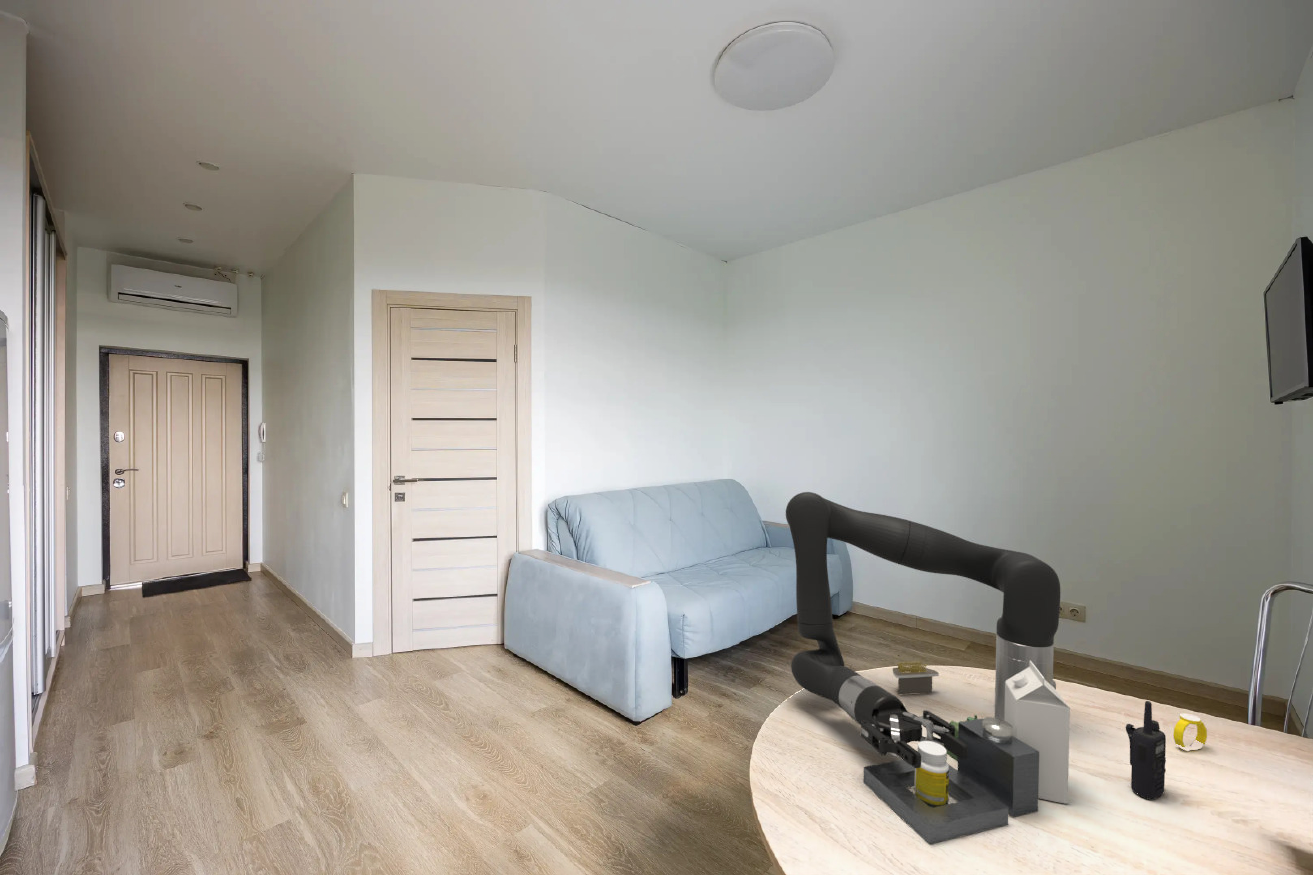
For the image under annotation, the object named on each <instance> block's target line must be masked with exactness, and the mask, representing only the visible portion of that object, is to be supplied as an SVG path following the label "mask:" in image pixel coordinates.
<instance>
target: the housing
mask: <svg viewBox="0 0 1313 875" xmlns="http://www.w3.org/2000/svg"><path fill="white" fill-rule="evenodd" d="M964 721H965V722H960V721H958V722H959V725H958V740H960V741H961V742H963V743H964V744H965V745H966V746H967V758H966V759H960V758H959V757H958V761H957V769H956V768H954V767H953V766H952V765H951V764H949V763H948V765H949V796H950V797H951V798H953V800H955V801H956V802H951V803H948V804H947V805H943V806H938V807H934V808H930V807H929V806H928V805H927V804H926V803H924V802H923V801H922V800H921V799H920V798H919V797H917V796H916V795H915V794H914V791H912V790H910V788H911V787H912V788H913V787H914V776H915V768H914V767H913V766H912V765H910V764H908V763H907V762H905V761H904V760H903V759H899V760H898V759H897V760H894V761H888V762H884V763H879V764H872V765H868V766H863V784H865V785H866V787H867V788H869V789H870V790H871V791H872V792H873V793H874V794H875V795H876V796H878V797H879V799H880V800H882V801H883V803H885V804H886V806H888V807H889V808H890V809H891V810H892V811H893V812H894V813H895V814H896V815H898V817H900V818H901V820H902V821H904V822H905V823H906V824H908V826H909V827H910V828H911V829H912V830H914V832H916V834H918V835H919V837H921V838H922V839H923V840H924V841H925V842H927V843H928V845H933V844H937V843H941V842H946V841H949V840H953V839H957V838H961V837H964V836H965V837H966V836H968V835H973V834H977V833H981V832H985V831H988V830H993V829H997V828H1001V827H1005V826H1008V825H1009V816H1010V817H1011V818H1016V817H1020V816H1024V815H1028V814H1031V813H1036V812H1038V811H1039V798H1038V788H1039V751H1037V750H1036V749H1034V748H1032V747H1031V746H1029V745H1027V744H1025V743H1024V742H1022V741H1020V740H1019V739H1017V738H1015V737H1013V736H1012V725H1011V724H1009V723H1008V722H1006V721H1004V720H1001V719H998V718H995V717H992V716H991V717H990V716H988V717H987V716H986V717H984V718H983V717H982V718H977V719H976V720H970V721H966V720H964Z"/></svg>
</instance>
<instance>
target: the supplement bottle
mask: <svg viewBox="0 0 1313 875" xmlns="http://www.w3.org/2000/svg"><path fill="white" fill-rule="evenodd" d="M917 751H918V752H919V753H920V754H921V767H920V768H915V776H914V786H913V788H914V790H913V793H914V794H915V795H916V796H917V797H919V798H920V799H921V800H922V801H923V802H924V803H926V804H927V805H928V806H929V807H930V808H934V807H938V806H943V805H947V804H949V803H950V802H949V800H950V799H949V796H950V795H949V765H950V764H949V763H948V762H947V760H948V756H947V755H948V754H947V751H946V749H945V748H944V747H943V746H942V745H940V744H938V743H935V742H932V741H921V742H918V743H917ZM948 764H949V765H948Z"/></svg>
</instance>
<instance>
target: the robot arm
mask: <svg viewBox="0 0 1313 875" xmlns="http://www.w3.org/2000/svg"><path fill="white" fill-rule="evenodd" d="M785 519H786V522H787V524H788V526H789V531H790V534H791V539H792V542H793V548H794V555H795V556H794V557H795V568H796V569H795V570H796V572H795V573H796V574H795V575H796V576H795V578H796V579H795V580H796V582H795V583H796V584H795V585H796V586H795V588H796V589H795V592H796V593H795V596H796V599H795V600H796V617H797V618H796V619H797V629H798V633H799V635H800V636H801V637H803V638H804V639H807V640H811V641H816V642H817V644H818V649H817V648H816V649H810V650H803V651H802V650H801V651H799V652H797V653H796V654H795V655H794V656H793V658H792V660H791V664H790V668H791V673H792V676H793V678H794V679H795V682H796V683H797V684H798V685H800V687H801V688H803V690H806V691H807V692H808V693H809V692H810V693H812V694H814V695H817V696H819V697H821V698H824V699H827V700H829V701H832V702H833V703H834V704H835V705H837V707H839V708H840V709H842V710H843V711H844V712H845V713H846V714H847V715H848V716H849V717H850V718H851V719H852V720H854V721H855V722H856V723H857V724H858V725H860V737H861V739H863V740H864V741H865V742H866V743H867V744H868V745H869V746H871V748H873V749H874V750H875V751H876V752H877V753H878V754H879V755H881V756H886V757H887V756H888V753H889V754H891V755H893V756H894V757H899V758H900V759H901V760H904V761H905V762H907V763H908V764H910V765H912V766H913V767H914V768H920V767H921V754H920V753H919V752H918V750H917V749H915V748H913V746H911V745H909V743H911V742H918V743H919V742H921V741H932V742H935V743H938V744H940V745H942V746H944V748H946V749H947V750H948V751H950V752H951V753H953V754H954V755H956V756H957V757H959V758H960V759H966V758H967V746H966V745H965V744H964V743H963V742H961V741H960V740H958V739H957V738H955V737H954V736H955V726H953V725H952V724H950V722H948V721H946V720H945V719H943V718H941V717H940V716H938V715H937V714H935V713H932V711H929V710H928V709H927V710H922V715H919V716H918V715H916V714H914V713H911V712H910V711H908V710H907V708H906V706H905V705H904V703H903V701H902V700H901V699H899V697H898V696H896V695H894V694H892V693H891V692H889V691H888V690H887V689H885V688H884V687H882V686H881V685H879V684H877V683H876V682H874V681H873V680H870V679H868V678H866V677H863V675H861V674H859V673H858V672H856V671H855V670H854V669H852V668H850V667H848V666H845V661H844V658H843V656H842V655H843V654H842V652H841V650H840V647H839V643H838V640H837V637H836V634H835V630H834V626H833V625H834V624H833V612H832V611H833V609H832V598H831V589H830V582H829V581H830V580H829V573H828V571H829V570H828V556H827V554H828V553H827V552H828V539H831V540H835V541H839V542H844V543H847V544H850V545H852V546H855V547H856V548H859V549H860V550H863V551H865V552H867V553H868V554H871V555H873V556H876V557H877V558H881V559H883V560H886V561H888V562H890V563H894V564H897V565H900V566H904V567H907V568H909V569H912V570H913V569H914V570H916V571H920V572H925V573H930V574H931V573H932V574H939V575H948V576H949V575H951V576H958V577H962V578H965V579H970V580H973V581H975V582H979V583H981V584H983V585H986V586H989V587H991V588H994V589H996V590H998V591H1000V592H1002V593H1003V598H1002V600H1003V601H1002V614H1001V617H999V618H998V619H997V621H996V630H995V632H996V633H995V634H996V638H995V640H996V642H995V643H996V644H995V684H994V686H995V687H994V718H998V719H1001V720H1004V716H1005V682H1006V680H1008V679H1010V678H1011V677H1013V676H1014V675H1016V674H1018V673H1020V672H1021V671H1023V670H1025V669H1026V668H1028V667H1029V662H1030V661H1031V662H1032V663H1033V664H1034V665H1035V667H1036V668H1037V669H1038V671H1039V672H1040V673H1041V674H1042V676H1043V677H1044V679H1045V680H1046V681H1047V682H1048V683H1049V684H1050V685H1051V686H1053V687H1054V688H1055V689H1056V690H1057V683H1056V681H1055V680H1054V646H1055V645H1054V643H1055V642H1054V641H1055V640H1054V639H1055V635H1056V633H1057V631H1058V628H1059V624H1060V622H1059V621H1060V608H1061V582H1060V578H1059V576H1058V574H1057V572H1056V571H1055V569H1054V568H1052V566H1050V564H1048V563H1046V562H1045V561H1043V560H1041V559H1039V558H1037V557H1035V556H1034V555H1031V554H1029V553H1025V552H1021V551H1016V550H1011V549H1010V550H1009V549H1005V548H1000V547H993V546H989V545H985V544H984V545H983V544H979V543H976V542H972V541H969V540H967V539H964V538H962V537H959V536H957V535H954V534H951V533H949V532H946V531H944V530H941V529H937V528H935V527H932V526H929V525H926V524H922V523H919V522H915V521H912V520H908V519H905V518H901V517H896V516H891V515H887V514H880V513H874V512H869V511H867V512H866V511H862V510H857V509H853V508H851V507H848V506H844V505H841V504H839V503H837V502H834V501H831V500H829V499H826V498H824V497H823V496H821V494H820V495H819V494H818V493H816V492H812V491H811V492H810V491H804V492H800V493H797V494H796V495H794V496H792V498H791V499H789V502H788V503H787V505H786V508H785ZM923 727H924V728H925V730H926V736H923ZM934 734H935V735H937V736H938V737H939V738H938V737H935V736H934Z"/></svg>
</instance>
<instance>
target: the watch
mask: <svg viewBox="0 0 1313 875" xmlns="http://www.w3.org/2000/svg"><path fill="white" fill-rule="evenodd" d="M1189 725H1196V733H1197V734H1196V736H1195V739H1194V741H1195V740H1197V741H1199V742H1201V743H1203V744H1204V745H1206V743H1207V742H1206V741H1207V739H1208V731H1207V728H1206V725H1205V724H1204V722H1202V719H1201V718H1200V717H1198V716H1196V715H1194V714H1191V713H1185V712H1184V713H1180V714H1179V720H1178V721H1177V722H1176V724H1175V726H1174V728H1173V733H1172V734H1173V740H1174V744H1175V745H1176V744H1178V745H1181V746H1182V747H1185V746H1186V745H1185V744H1184V733H1185V731H1186V730H1187V727H1188V726H1189Z"/></svg>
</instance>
